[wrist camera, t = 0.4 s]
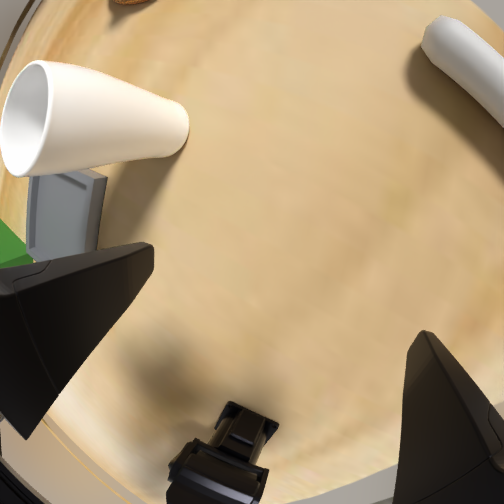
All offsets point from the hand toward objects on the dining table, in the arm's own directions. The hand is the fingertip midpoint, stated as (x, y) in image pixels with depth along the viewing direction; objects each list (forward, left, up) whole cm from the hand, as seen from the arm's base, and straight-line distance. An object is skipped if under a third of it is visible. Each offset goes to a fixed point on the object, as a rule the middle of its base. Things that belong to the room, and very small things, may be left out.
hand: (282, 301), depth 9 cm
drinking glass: (+3, +16, -15) cm, 22 cm away
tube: (+15, -14, -15) cm, 26 cm away
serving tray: (-11, +29, -15) cm, 34 cm away
